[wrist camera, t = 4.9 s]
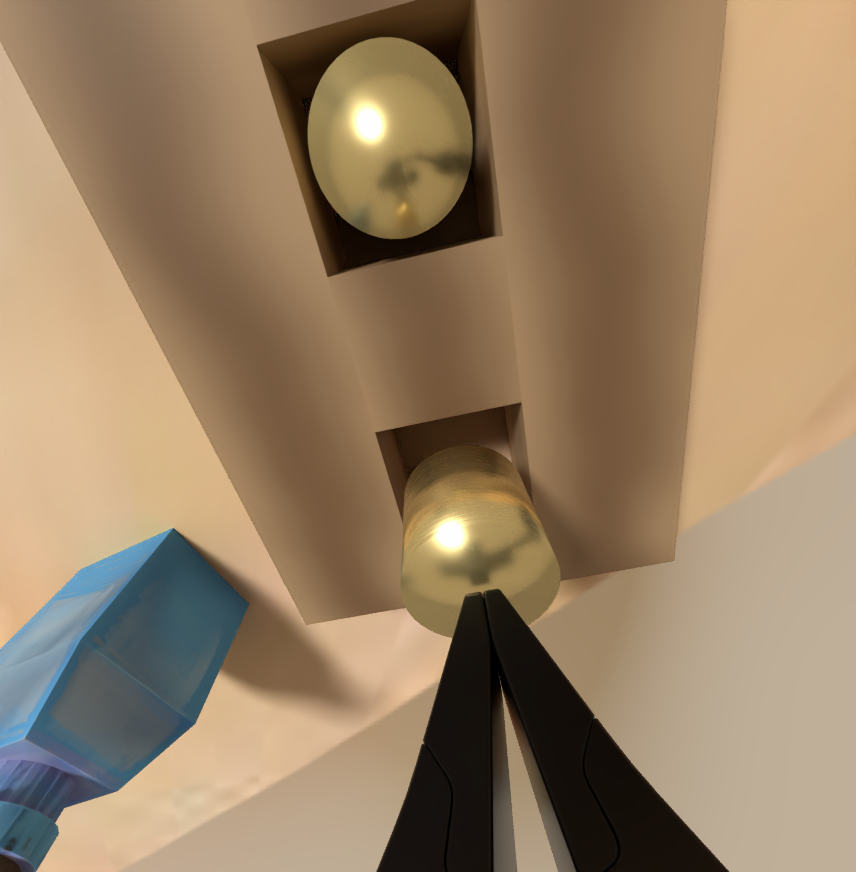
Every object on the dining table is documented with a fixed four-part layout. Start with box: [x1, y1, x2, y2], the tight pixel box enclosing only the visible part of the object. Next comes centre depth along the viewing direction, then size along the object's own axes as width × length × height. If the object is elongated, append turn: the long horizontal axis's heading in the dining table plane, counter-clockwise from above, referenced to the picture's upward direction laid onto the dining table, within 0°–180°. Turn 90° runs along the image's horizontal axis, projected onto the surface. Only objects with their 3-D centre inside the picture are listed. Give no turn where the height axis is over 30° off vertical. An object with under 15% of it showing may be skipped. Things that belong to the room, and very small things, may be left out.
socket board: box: [0, 0, 727, 625], centre depth 14 cm, size 16×22×4 cm
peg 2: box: [400, 445, 560, 638], centre depth 12 cm, size 4×4×4 cm
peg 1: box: [308, 37, 473, 239], centre depth 11 cm, size 4×4×4 cm
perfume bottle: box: [0, 528, 249, 872], centre depth 16 cm, size 6×6×12 cm
